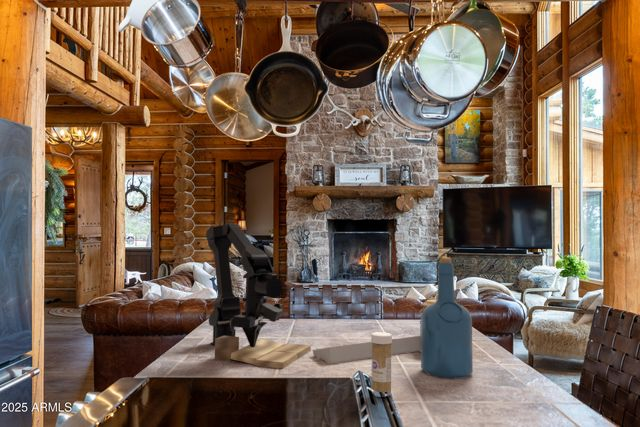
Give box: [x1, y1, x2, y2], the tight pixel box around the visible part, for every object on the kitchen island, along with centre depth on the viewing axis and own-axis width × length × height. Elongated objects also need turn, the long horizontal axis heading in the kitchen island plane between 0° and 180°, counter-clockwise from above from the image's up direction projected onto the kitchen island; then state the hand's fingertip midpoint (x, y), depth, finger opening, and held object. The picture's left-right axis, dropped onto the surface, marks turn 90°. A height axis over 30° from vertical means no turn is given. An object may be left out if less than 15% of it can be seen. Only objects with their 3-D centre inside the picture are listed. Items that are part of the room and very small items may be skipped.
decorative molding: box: [312, 335, 421, 365], centre depth 140 cm, size 34×5×10 cm
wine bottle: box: [420, 256, 474, 380], centre depth 120 cm, size 14×13×30 cm
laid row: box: [255, 342, 312, 369], centre depth 134 cm, size 8×22×2 cm, turn 162°
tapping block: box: [214, 335, 240, 363], centre depth 132 cm, size 5×5×6 cm
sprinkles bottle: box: [370, 331, 393, 395], centre depth 102 cm, size 5×5×13 cm
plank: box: [230, 338, 286, 365], centre depth 136 cm, size 8×20×2 cm, turn 161°
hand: (252, 346), depth 137 cm, fingers closed, pressing on plank
